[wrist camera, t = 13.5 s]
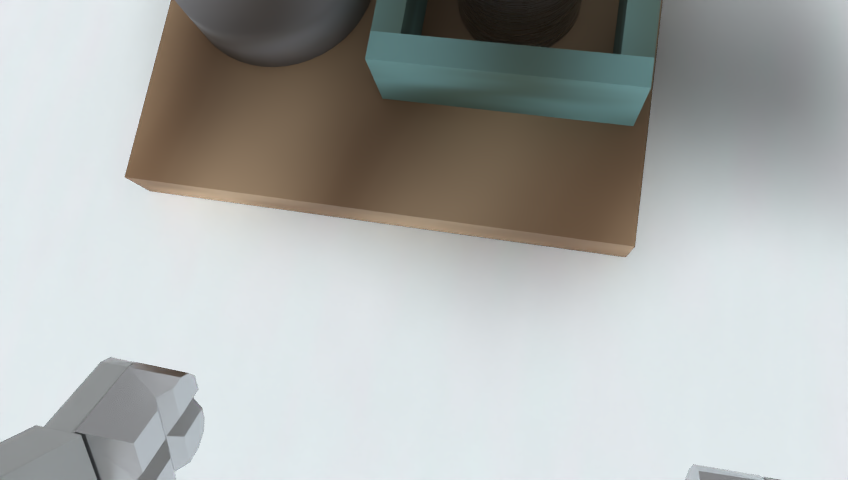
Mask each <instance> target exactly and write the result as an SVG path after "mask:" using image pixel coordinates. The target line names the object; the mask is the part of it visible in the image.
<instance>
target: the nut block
mask: <svg viewBox="0 0 848 480" xmlns="http://www.w3.org/2000/svg"><path fill="white" fill-rule="evenodd" d="M661 9H662V0H582V1H581V6H580V11H579V14H578V17H577V19H576V21H575V23H574V25H573V26H572V28H571V29H570V30H569V32H568V33H567V34H566V35H565V36H564V37H563V38H562V39H561V40H559V41H558V42H557V43H555V44H554V45H552V46H551V47H549V48H547V47H536V46H526V45H515V44H505V43H494V42H484V41H476V40H475V39H474V38H473V37H472V36H471V35H470V33H469V32H468V31H467V29H466V28H465V26H464V24H463V22H462V19H461V16H460V11H459V5H458V0H171V2H170V6H169V10H168V14H167V18H166V21H165V25H164V29H163V33H162V37H161V41H160V44H159V48H158V52H157V56H156V60H155V63H154V67H153V71H152V75H151V79H150V82H149V86H148V90H147V94H146V98H145V102H144V105H143V109H142V113H141V117H140V121H139V124H138V128H137V132H136V136H135V140H134V143H133V147H132V151H131V155H130V159H129V163H128V166H127V170H126V174H125V178H127V179H129V180H131V181H133V182H135V183H136V184H138V185H140V186H142V187H144V188H145V189H147V190H149V191H154V192H161V193H168V194H175V195H182V196H190V197H197V198H204V199H211V200H218V201H226V202H233V203H240V204H247V205H254V206H261V207H269V208H276V209H283V210H290V211H297V212H305V213H312V214H319V215H326V216H333V217H341V218H348V219H355V220H362V221H369V222H377V223H384V224H391V225H398V226H405V227H413V228H420V229H427V230H434V231H441V232H449V233H456V234H463V235H470V236H477V237H484V238H492V239H499V240H506V241H513V242H520V243H528V244H535V245H542V246H549V247H556V248H564V249H571V250H578V251H585V252H592V253H600V254H607V255H614V256H621V257H626V256H627V255H628V254H629V253H630V252H631V250H632V249H633V248H634V247H635V240H636V231H637V223H638V214H639V205H640V196H641V187H642V178H643V169H644V160H645V151H646V142H647V133H648V124H649V116H650V107H651V98H652V89H653V80H654V71H655V62H656V53H657V44H658V35H659V26H660V17H661Z"/></svg>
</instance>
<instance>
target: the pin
mask: <svg viewBox="0 0 848 480" xmlns="http://www.w3.org/2000/svg"><path fill="white" fill-rule="evenodd" d="M581 1H582V0H458V5H459V11H460V16H461V19H462V22H463V24H464V26H465V28H466V29H467V31H468V32H469V33H470V35H471V36H472V37H473V38H474V39H475V40H476V41H484V42H494V43H505V44H515V45H526V46H536V47H547V48H549V47H551V46H552V45H554V44H555V43H557V42H558V41H559V40H561V39H562V38H563V37H564V36H565V35H566V34H567V33H568V32H569V30H570V29H571V28H572V26H573V25H574V23H575V21H576V19H577V17H578V14H579V11H580V6H581Z"/></svg>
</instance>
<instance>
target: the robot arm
mask: <svg viewBox="0 0 848 480" xmlns="http://www.w3.org/2000/svg"><path fill="white" fill-rule="evenodd" d="M197 391H198V386H197V382H196V378H195V375H192V374H189V373H185V372H180V371H176V370H171V369H166V368H161V367H157V366H152V365H147V364H142V363H138V362H131V361H126V360H121V359H117V358H112V357H110V358H108V359H106V360H104V361H102V362H101V363H99V365H98V366H97V367H96V368H95V369H94V370H93V371H92V372H91V374H90V375H89V376H88V377H87V378H86V379H85V380H84V382H83V383H82V384H81V385H80V386H79V387H78V388H77V390H76V391H75V392H74V393H73V394H72V395H71V396H70V397H69V399H68V400H67V401H66V402H65V403H64V404H63V405H62V407H61V408H60V409H59V410H58V411H57V412H56V413H55V414H54V416H53V417H52V418H51V419H50V420H49V421H48V422H47V424H46V425H45V426H44V427H42V426H34V427H31V428H29V429H27V430H25V431H23V432H21V433H19V434H17V435H15V436H13V437H11V438H9V439H7V440H5V441H3V442H1V443H0V480H176V475H175V471H176V470H178V469H180V468H181V467H183V466H185V465H186V464H188V463H190V462H191V460H192V458H193V456H194V455H195V453H196V451H197V450H198V448H199V445H200V441H201V438H202V435H203V432H204V414H203V409H202V407H201V406H200V405H199V404H198V403H197V402H196V401H195V400H194V398H193V397H194V395H195V394H196V392H197ZM685 480H779V479H773V478H768V477H761V476H759V475H753V474H747V473H741V472H735V471H730V470H724V469H718V468H712V467H706V466H700V465H693V466H692V467H691V468H690V469H689V471H688V474H687V476H686V479H685Z"/></svg>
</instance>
